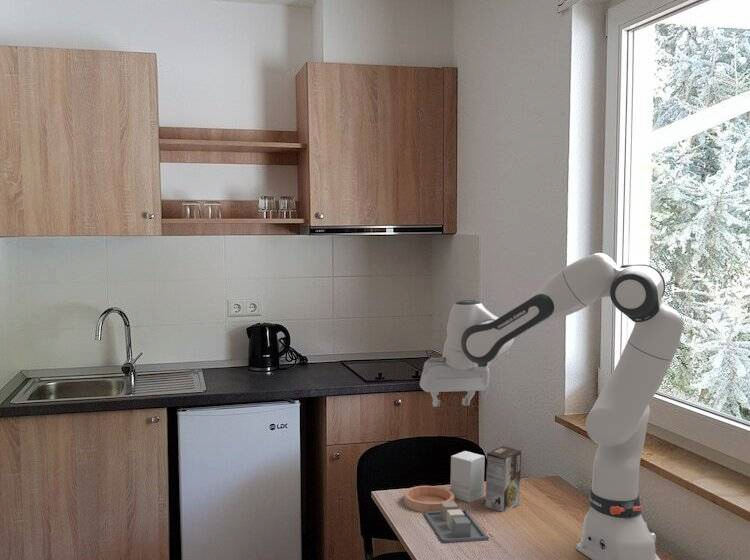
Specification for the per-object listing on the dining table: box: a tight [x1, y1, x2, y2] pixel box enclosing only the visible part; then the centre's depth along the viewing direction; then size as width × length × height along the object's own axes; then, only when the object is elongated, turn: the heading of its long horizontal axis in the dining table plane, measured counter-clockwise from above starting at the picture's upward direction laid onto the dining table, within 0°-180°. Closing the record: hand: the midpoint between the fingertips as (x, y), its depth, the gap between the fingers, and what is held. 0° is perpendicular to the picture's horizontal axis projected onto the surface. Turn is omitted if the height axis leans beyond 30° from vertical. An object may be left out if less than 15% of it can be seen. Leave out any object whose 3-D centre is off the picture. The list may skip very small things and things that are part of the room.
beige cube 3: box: [446, 508, 465, 530], centre depth 209 cm, size 4×4×4 cm
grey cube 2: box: [452, 517, 471, 538], centre depth 203 cm, size 4×4×4 cm
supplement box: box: [449, 450, 486, 503], centre depth 231 cm, size 7×7×13 cm
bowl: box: [403, 485, 455, 513], centre depth 225 cm, size 14×14×3 cm
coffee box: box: [485, 445, 522, 513], centre depth 224 cm, size 9×6×16 cm
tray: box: [423, 509, 489, 544], centre depth 209 cm, size 18×12×1 cm, turn 11°
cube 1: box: [441, 500, 459, 522], centre depth 214 cm, size 4×4×4 cm
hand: (450, 405), depth 217 cm, fingers open, 8 cm apart
